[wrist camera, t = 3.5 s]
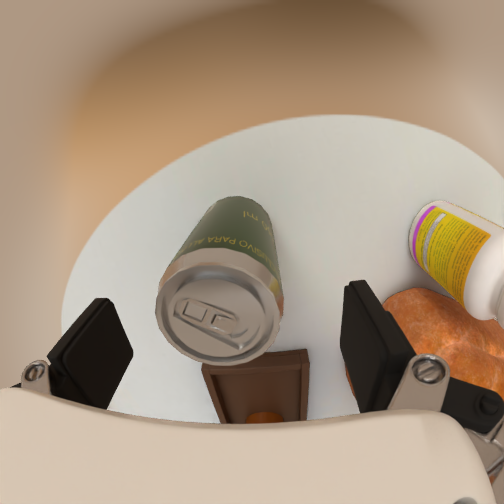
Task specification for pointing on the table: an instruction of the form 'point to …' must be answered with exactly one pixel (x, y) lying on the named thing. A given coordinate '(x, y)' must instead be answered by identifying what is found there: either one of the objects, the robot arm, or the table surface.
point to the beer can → (223, 287)
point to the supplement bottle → (462, 256)
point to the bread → (450, 336)
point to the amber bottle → (264, 418)
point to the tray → (260, 387)
